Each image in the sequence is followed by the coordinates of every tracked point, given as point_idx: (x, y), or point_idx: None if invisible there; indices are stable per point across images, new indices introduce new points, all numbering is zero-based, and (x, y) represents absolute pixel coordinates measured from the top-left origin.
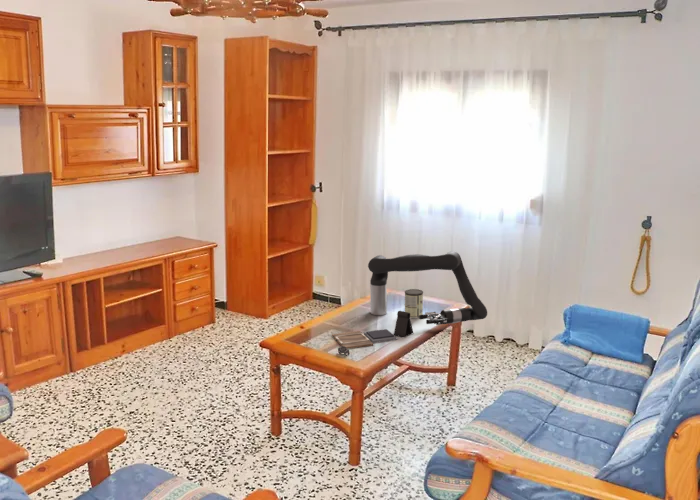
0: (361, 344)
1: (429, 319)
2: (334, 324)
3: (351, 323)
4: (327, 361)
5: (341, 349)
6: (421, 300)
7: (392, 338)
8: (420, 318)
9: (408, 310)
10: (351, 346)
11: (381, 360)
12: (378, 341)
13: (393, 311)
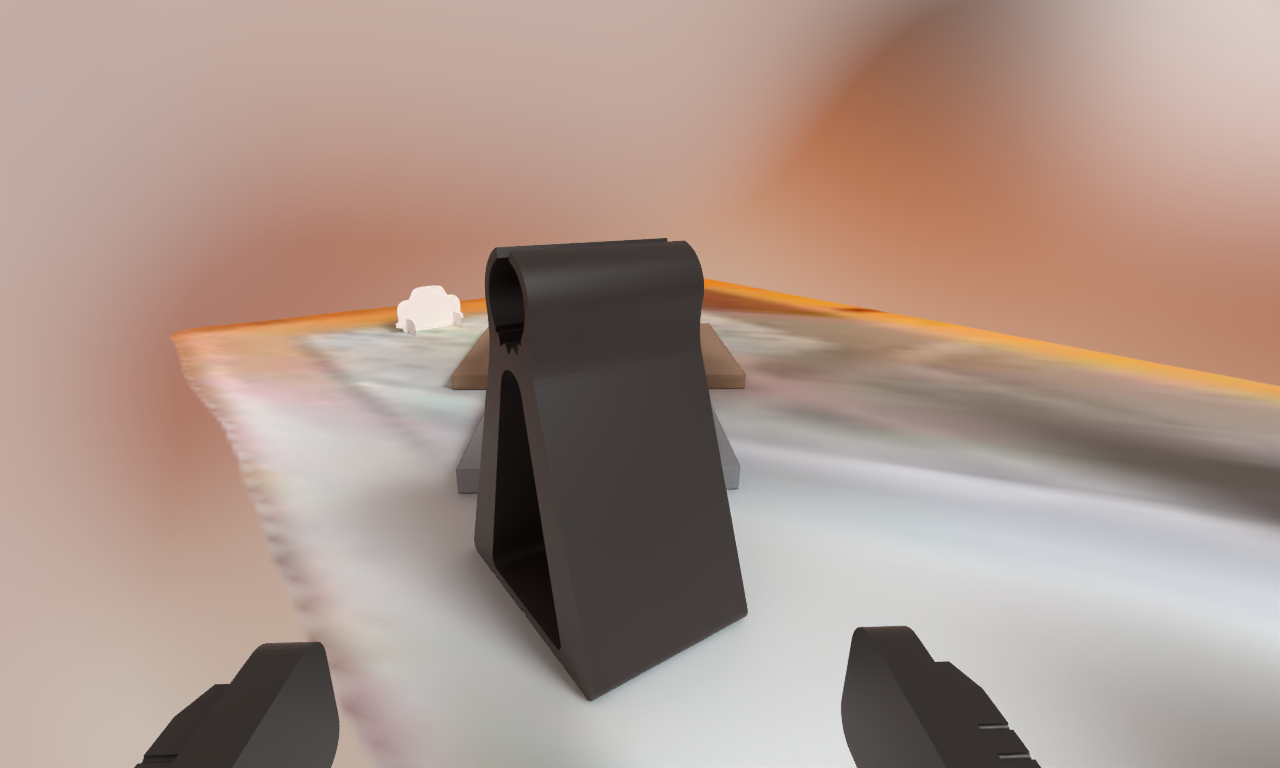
0: (479, 350)
1: (236, 733)
2: (925, 355)
3: (971, 392)
4: None
5: (441, 304)
6: None
7: (468, 451)
8: (850, 725)
9: None
10: (483, 334)
11: (187, 375)
12: None
13: None
